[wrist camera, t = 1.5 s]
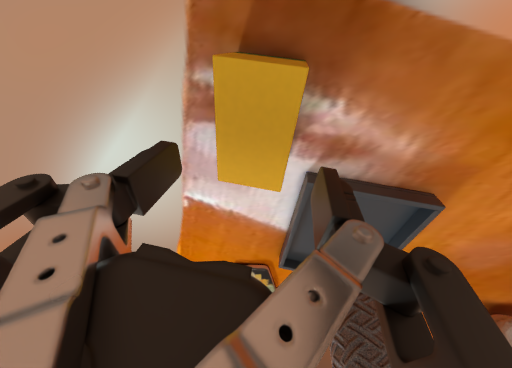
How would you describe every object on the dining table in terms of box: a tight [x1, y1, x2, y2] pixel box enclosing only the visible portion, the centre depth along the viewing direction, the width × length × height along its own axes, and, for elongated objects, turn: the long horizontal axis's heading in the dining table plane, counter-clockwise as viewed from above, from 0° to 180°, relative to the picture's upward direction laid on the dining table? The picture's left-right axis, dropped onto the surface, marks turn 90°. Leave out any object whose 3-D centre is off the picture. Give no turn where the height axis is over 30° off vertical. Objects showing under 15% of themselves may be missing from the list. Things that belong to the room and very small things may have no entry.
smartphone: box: [246, 265, 276, 293], centre depth 38 cm, size 7×1×15 cm
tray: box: [279, 172, 446, 271], centre depth 24 cm, size 17×13×2 cm
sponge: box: [213, 52, 309, 192], centre depth 15 cm, size 9×6×6 cm, turn 175°
